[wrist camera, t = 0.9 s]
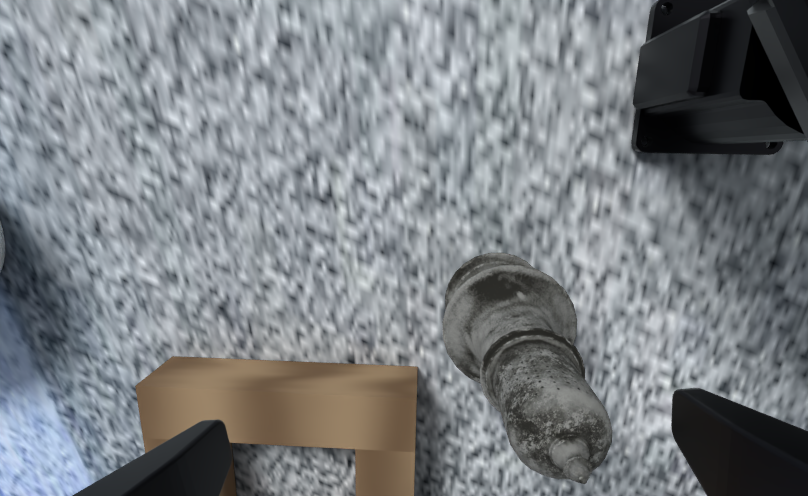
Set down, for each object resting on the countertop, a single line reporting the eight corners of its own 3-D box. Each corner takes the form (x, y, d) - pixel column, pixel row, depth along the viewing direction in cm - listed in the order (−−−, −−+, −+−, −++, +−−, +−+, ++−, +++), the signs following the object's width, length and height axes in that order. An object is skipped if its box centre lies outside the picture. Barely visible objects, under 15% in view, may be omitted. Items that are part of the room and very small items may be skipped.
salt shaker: (504, 371, 22) (596, 617, 10) (417, 312, 21) (409, 500, 10) (575, 289, 21) (772, 463, 9) (485, 224, 20) (569, 318, 8)
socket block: (417, 366, 22) (416, 398, 19) (411, 566, 25) (410, 620, 22) (172, 356, 23) (135, 385, 20) (197, 552, 26) (168, 603, 23)
